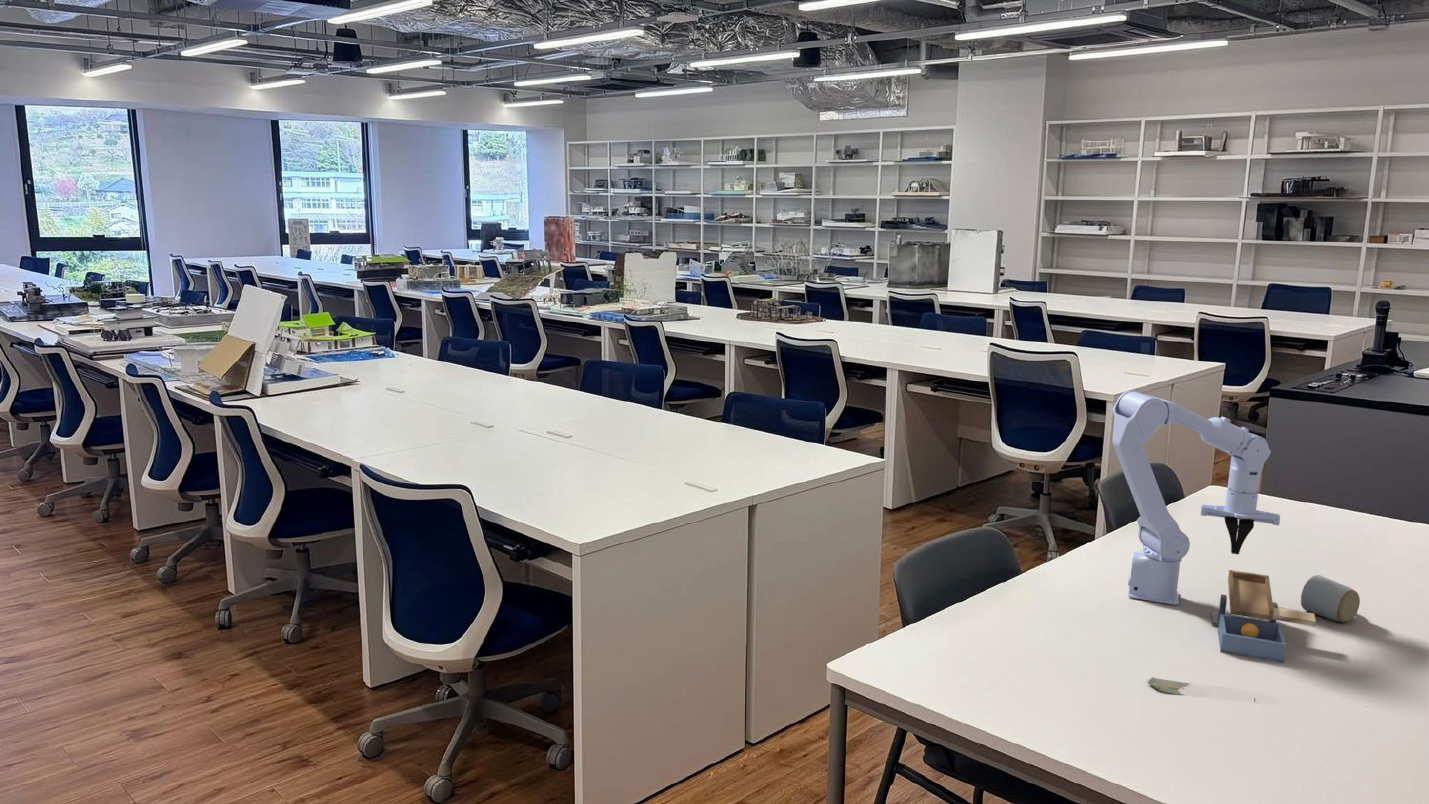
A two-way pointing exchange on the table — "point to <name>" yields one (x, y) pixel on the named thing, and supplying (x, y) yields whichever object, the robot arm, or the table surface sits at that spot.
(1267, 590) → the tilt ramp
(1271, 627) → the bin
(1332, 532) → the table surface
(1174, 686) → the map
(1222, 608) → the pivot stand
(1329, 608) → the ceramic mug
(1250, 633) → the orange ball
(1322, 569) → the table surface
